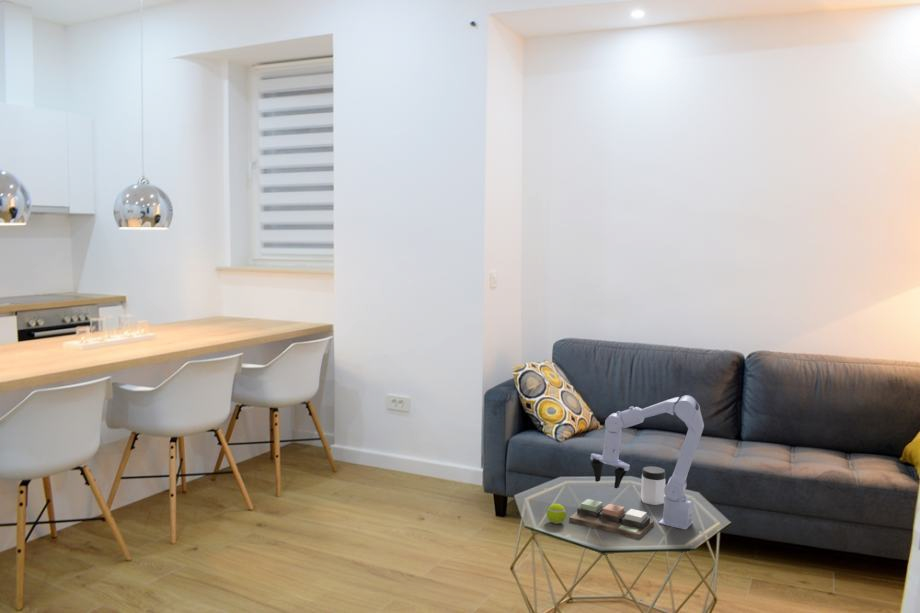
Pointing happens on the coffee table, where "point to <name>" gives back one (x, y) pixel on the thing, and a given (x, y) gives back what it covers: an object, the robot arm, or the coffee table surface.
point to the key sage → (591, 505)
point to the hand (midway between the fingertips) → (607, 484)
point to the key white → (636, 515)
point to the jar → (653, 485)
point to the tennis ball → (556, 513)
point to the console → (611, 522)
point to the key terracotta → (613, 510)
